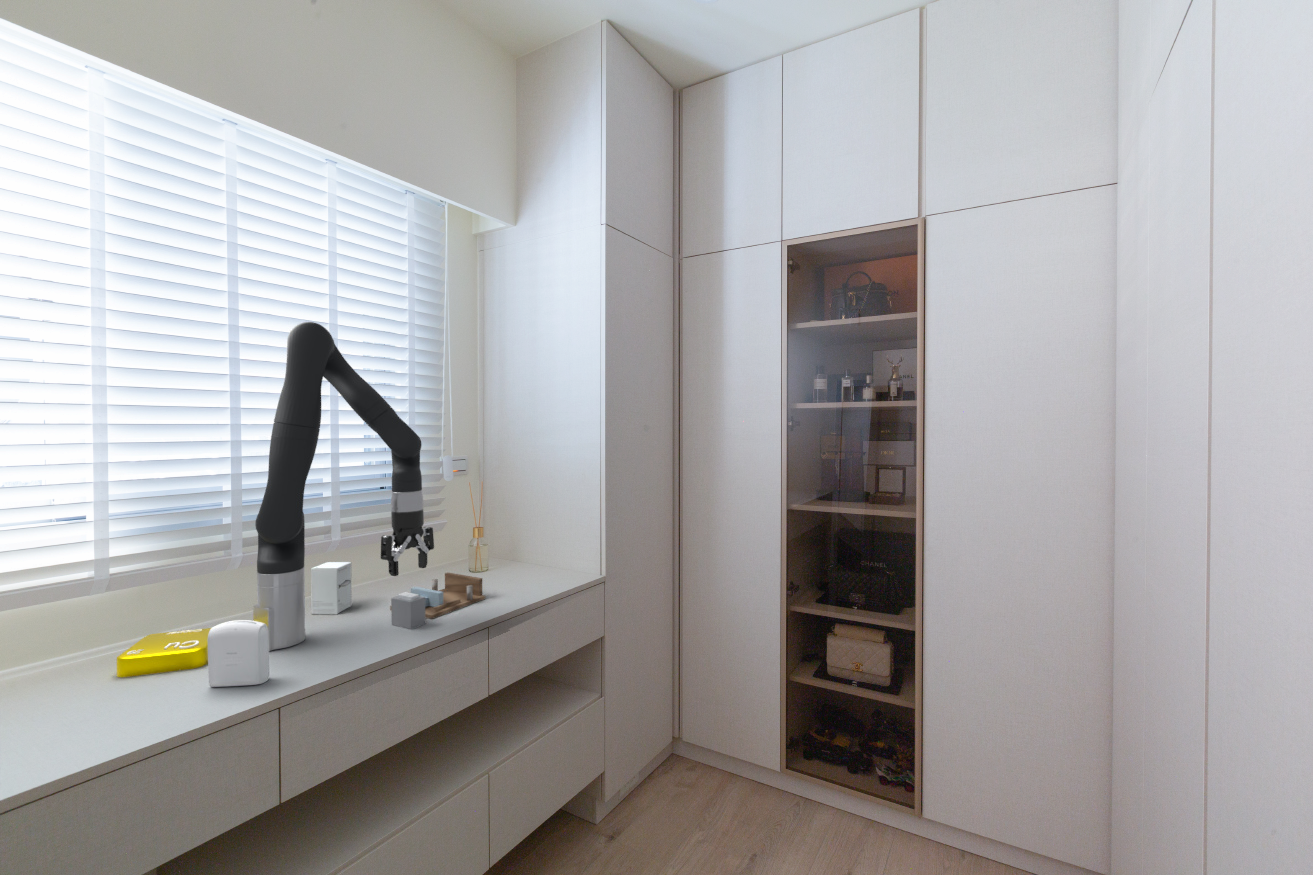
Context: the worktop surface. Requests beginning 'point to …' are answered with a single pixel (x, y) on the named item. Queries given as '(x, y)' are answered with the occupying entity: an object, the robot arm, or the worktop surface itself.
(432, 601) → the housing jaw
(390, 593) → the worktop surface
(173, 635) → the element tile
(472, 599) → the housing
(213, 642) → the photo printer
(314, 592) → the supplement box
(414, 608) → the block
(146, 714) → the worktop surface
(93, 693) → the worktop surface
